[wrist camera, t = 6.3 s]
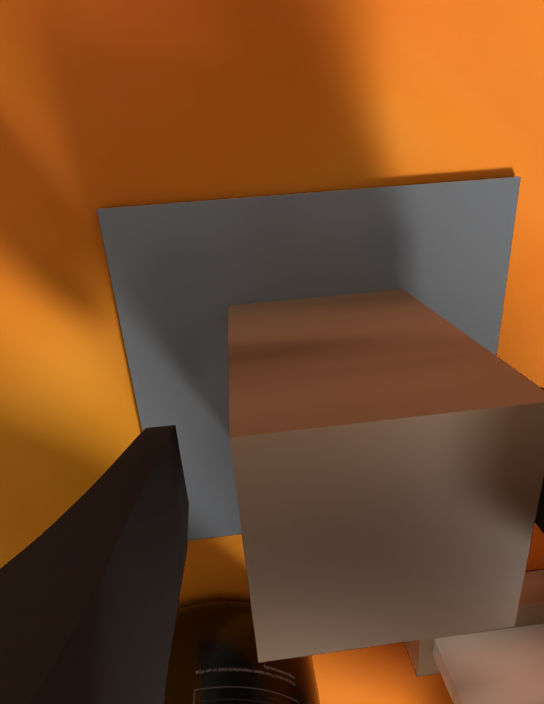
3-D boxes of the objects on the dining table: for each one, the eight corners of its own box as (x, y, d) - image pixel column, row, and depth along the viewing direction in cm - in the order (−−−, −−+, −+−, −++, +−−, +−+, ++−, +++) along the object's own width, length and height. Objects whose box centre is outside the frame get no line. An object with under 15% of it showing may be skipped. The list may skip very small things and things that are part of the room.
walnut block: (396, 436, 14) (514, 625, 8) (244, 454, 13) (258, 662, 8) (402, 288, 12) (558, 400, 6) (227, 305, 12) (229, 438, 6)
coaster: (473, 502, 15) (475, 506, 15) (166, 539, 14) (165, 543, 14) (516, 176, 11) (520, 176, 11) (98, 208, 11) (96, 209, 10)
